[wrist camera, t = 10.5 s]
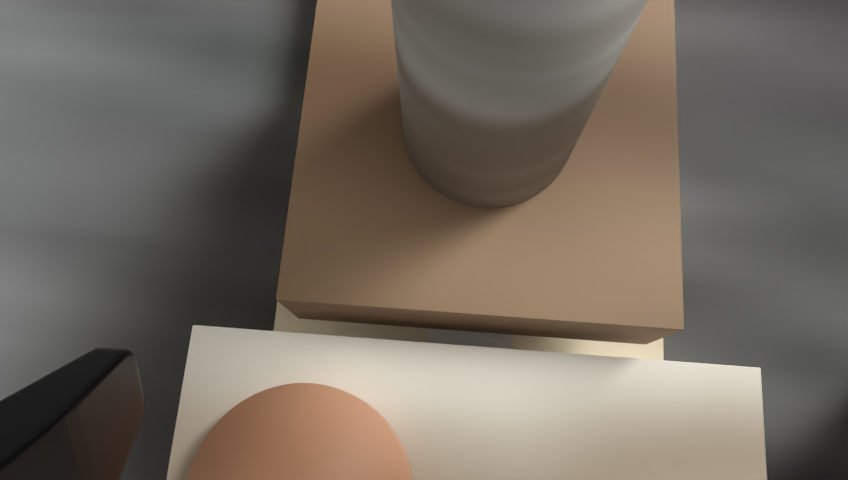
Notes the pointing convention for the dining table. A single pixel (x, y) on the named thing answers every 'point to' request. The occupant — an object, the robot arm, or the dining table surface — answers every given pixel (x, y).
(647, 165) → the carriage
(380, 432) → the rail track
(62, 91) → the dining table surface
